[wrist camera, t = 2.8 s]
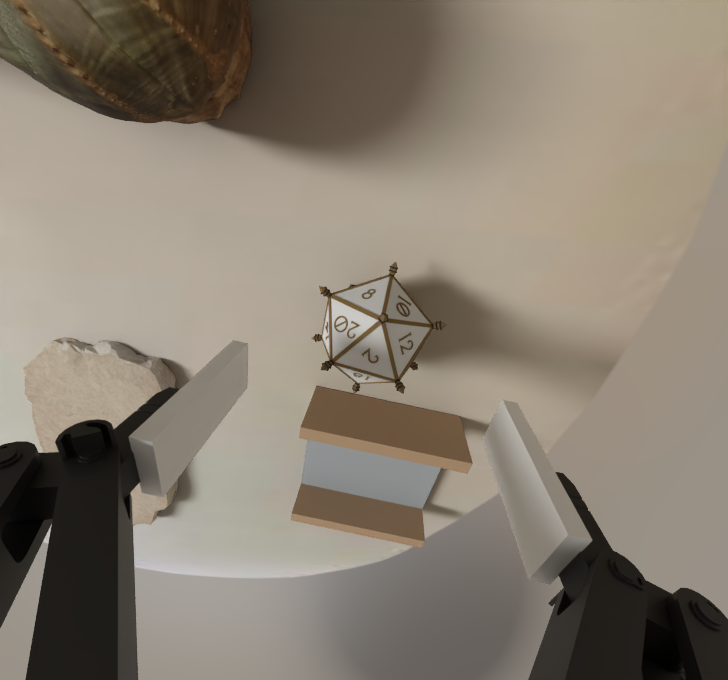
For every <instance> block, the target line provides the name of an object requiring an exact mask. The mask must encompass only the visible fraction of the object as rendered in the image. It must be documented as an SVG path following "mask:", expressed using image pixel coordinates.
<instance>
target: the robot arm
mask: <svg viewBox="0 0 728 680" xmlns="http://www.w3.org/2000/svg"><path fill="white" fill-rule="evenodd" d="M247 381H248V343H243V342H239V341H234V340H233V341H232V342H231V343H230V344H229V345H228V346H226V347H225V348H224V349H223V350H222V351H221V352H220V353H219V354H218V355H217V356H216V357H215V358H213V359H212V360H211V361H210V362H209V363H208V364H207V365H206V366H205V367H204V368H203V369H202V370H200V371H199V372H198V373H197V374H196V375H195V376H194V377H193V378H192V379H191V380H190V381H189V382H187V383H186V384H185V385H184V386H183V387H182V388H181V389H177V388H172V387H169V388H167V389H164V390H162V391H160V392H158V393H156V394H155V395H154V396H152V397H151V398H150V399H149V400H148V401H147V402H146V403H145V404H143V405H142V406H141V407H139V408H138V410H137V411H135V412H134V413H132V414H131V415H130V416H129V417H128V418H127V419H125V420H124V421H123V422H122V423H121V424H119V425H118V426H117V427H116V428H115V429H114V428H113V426H112V423H110V422H108V421H106V420H100V419H95V420H87V421H83V422H80V423H77V424H74V425H72V426H71V427H69V428H67V429H65V430H64V431H63V432H62V433H60V434H59V435H58V437H57V439H56V441H55V444H56V446H57V449H58V451H59V452H48V453H38V451H37V448H36V447H35V445H34V444H32V443H30V442H13V443H8V444H4V445H1V446H0V627H1V626H2V624H3V622H4V620H5V617H6V616H7V613H8V611H9V609H10V607H11V605H12V603H13V601H14V599H15V597H16V595H17V593H18V591H19V589H20V587H21V585H22V583H23V581H24V579H25V577H26V575H27V573H28V571H29V569H30V566H31V564H32V562H33V560H34V558H35V556H36V554H37V552H38V550H39V548H40V546H41V544H42V542H43V540H44V538H45V536H46V534H47V532H48V530H49V528H50V526H51V524H52V527H51V532H50V538H49V544H48V551H47V556H46V562H45V568H44V574H43V580H42V586H41V592H40V597H39V604H38V609H37V615H36V621H35V627H34V633H33V639H32V645H31V651H30V657H29V663H28V668H27V674H26V680H138V665H137V637H136V606H135V578H134V547H133V517H132V496H131V492H132V490H133V489H134V488H135V487H136V486H137V485H138V484H139V483H140V487H141V492H142V493H143V494H148V495H152V496H157V497H161V498H163V497H164V496H165V495H166V493H167V492H168V491H169V490H170V488H171V487H172V486H173V484H174V483H175V482H176V480H177V479H178V478H179V476H180V475H181V474H182V472H183V471H184V470H185V468H186V467H187V466H188V465H189V463H190V462H191V461H192V459H193V458H194V457H195V455H196V454H197V453H198V451H199V450H200V449H201V447H202V446H203V445H204V443H205V442H206V441H207V440H208V438H209V437H210V436H211V434H212V433H213V432H214V430H215V429H216V428H217V426H218V425H219V424H220V422H221V421H222V420H223V418H224V417H225V416H226V415H227V413H228V412H229V411H230V409H231V408H232V407H233V405H234V404H235V403H236V401H237V400H238V399H239V397H240V396H241V395H242V393H243V392H244V391H245V390H246V388H247ZM482 440H483V443H484V446H485V449H486V452H487V455H488V458H489V461H490V464H491V467H492V470H493V473H494V476H495V479H496V482H497V485H498V488H499V492H500V494H501V498H502V500H503V503H504V507H505V509H506V513H507V515H508V518H509V521H510V525H511V528H512V531H513V534H514V537H515V540H516V543H517V546H518V549H519V552H520V555H521V558H522V561H523V564H524V567H525V570H526V573H527V576H528V579H529V580H532V581H537V582H541V583H546V584H551V583H552V582H553V581H554V580H555V579H556V578H557V577H558V576H559V577H560V579H561V582H562V584H563V586H564V588H563V589H562V590H561V591H560V592H559V593H558V594H557V595H556V596H555V597H554V598H553V599H552V600H551V601H550V602H549V604H550V605H551V606H553V605H554V604H555V606H554V609H553V612H552V614H551V617H550V620H549V623H548V626H547V629H546V631H545V634H544V637H543V640H542V643H541V645H540V648H539V651H538V654H537V657H536V660H535V662H534V666H533V668H532V671H531V674H530V677H529V679H528V680H728V619H727V618H726V617H725V616H724V614H723V613H722V612H721V611H720V610H719V609H718V608H717V607H716V606H715V605H714V604H713V603H712V602H710V601H709V600H708V599H706V598H705V597H704V596H702V595H701V594H699V593H697V592H695V591H693V590H691V589H688V588H680V589H679V590H677V591H676V592H675V593H673V594H671V593H669V592H667V591H665V590H663V589H662V588H659V587H658V586H656V585H654V584H652V583H650V582H648V581H646V580H645V579H644V577H643V575H642V574H641V573H640V572H639V570H638V569H637V568H636V567H635V566H634V565H633V564H632V563H631V562H630V561H629V560H628V559H626V558H625V557H624V556H622V555H620V554H618V553H617V552H615V551H613V550H612V548H611V547H610V545H609V544H608V542H607V540H606V538H605V537H604V535H603V533H602V531H601V530H600V528H599V527H598V525H597V523H596V521H595V520H594V518H593V516H592V515H591V513H590V512H589V511H588V508H587V506H586V504H585V503H584V501H583V500H582V497H581V496H580V494H579V492H578V491H577V489H576V487H575V486H574V484H573V483H572V482H571V481H570V480H569V479H568V478H567V477H566V476H565V475H564V474H563V473H559V472H555V471H554V469H553V467H552V466H551V464H550V462H549V460H548V458H547V456H546V454H545V453H544V451H543V449H542V447H541V445H540V443H539V442H538V440H537V438H536V436H535V434H534V433H533V431H532V429H531V427H530V425H529V423H528V422H527V420H526V418H525V416H524V414H523V413H522V411H521V409H520V407H519V405H518V403H515V402H510V401H506V400H502V402H501V404H500V405H499V407H498V409H497V411H496V413H495V415H494V417H493V419H492V421H491V423H490V425H489V427H488V429H487V431H486V433H485V434H484V436H483V438H482Z"/></svg>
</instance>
